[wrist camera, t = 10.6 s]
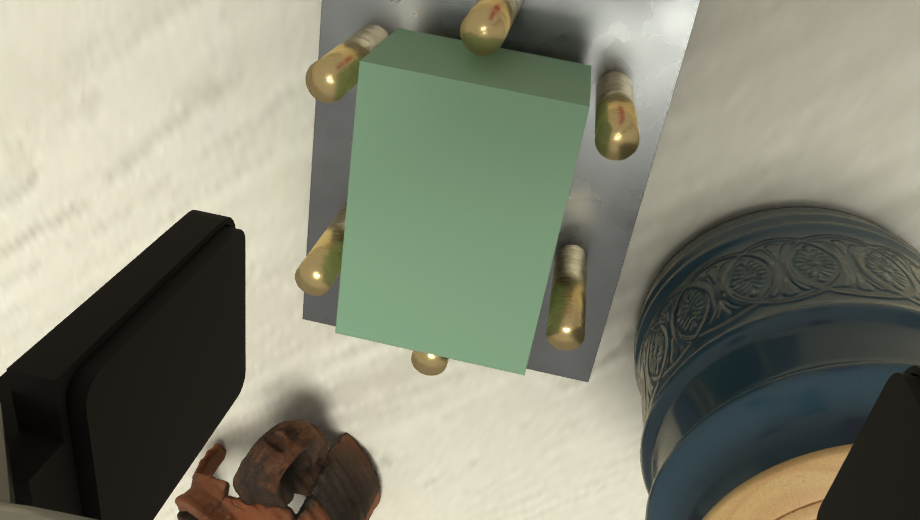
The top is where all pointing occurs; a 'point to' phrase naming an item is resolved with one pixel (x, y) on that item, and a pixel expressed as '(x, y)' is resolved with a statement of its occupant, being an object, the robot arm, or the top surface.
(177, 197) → the top surface
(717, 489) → the canister
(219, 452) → the brown curved shards
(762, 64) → the top surface
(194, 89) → the top surface
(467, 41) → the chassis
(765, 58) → the top surface
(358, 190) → the green boxy piece
